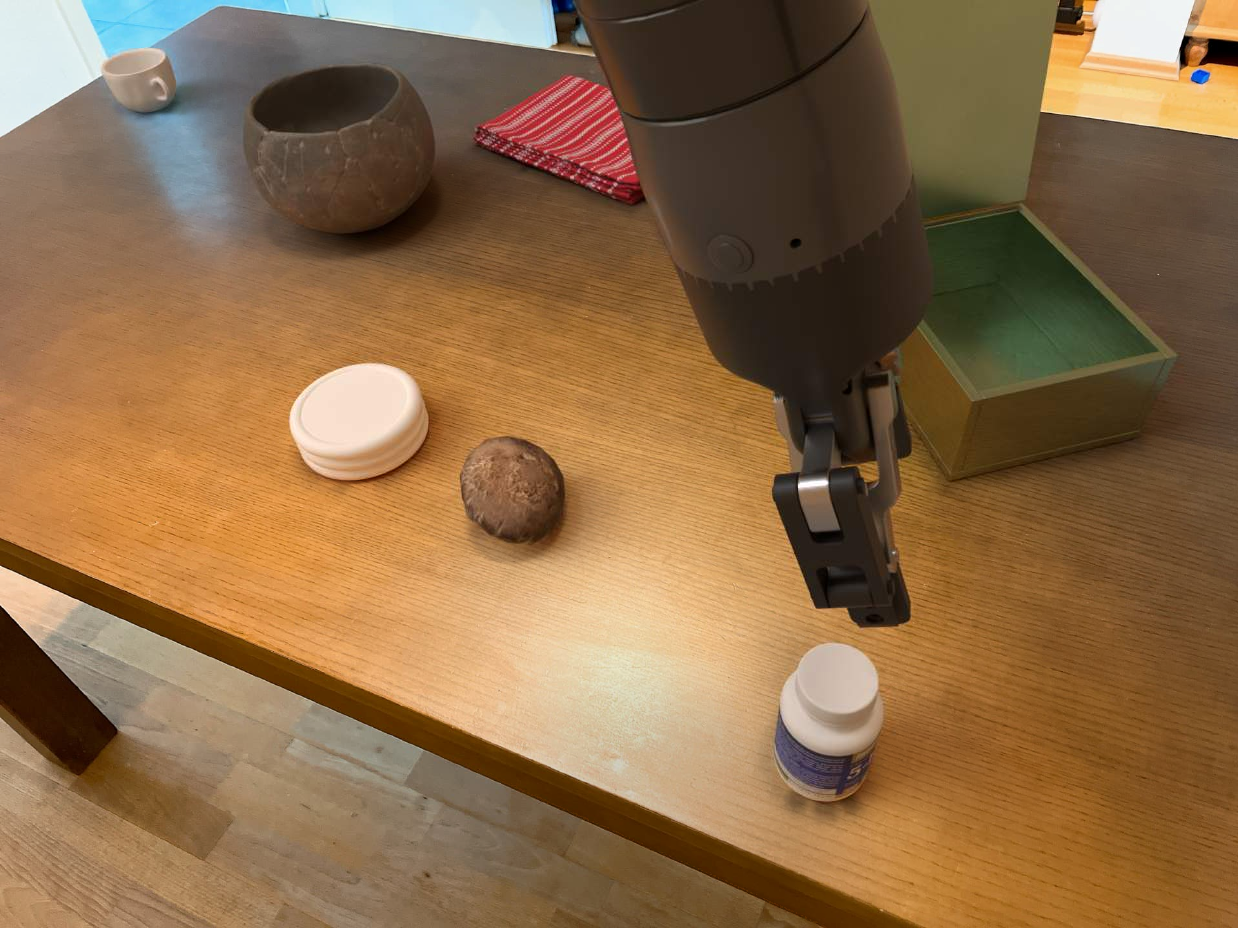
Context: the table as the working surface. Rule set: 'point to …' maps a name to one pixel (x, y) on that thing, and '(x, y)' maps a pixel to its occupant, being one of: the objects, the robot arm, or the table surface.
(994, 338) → the open box
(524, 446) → the mushroom
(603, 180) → the dish towel
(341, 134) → the bowl
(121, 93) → the teacup
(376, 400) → the white round flat piece
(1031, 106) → the box lid
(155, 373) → the table surface
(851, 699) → the pill bottle
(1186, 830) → the table surface
